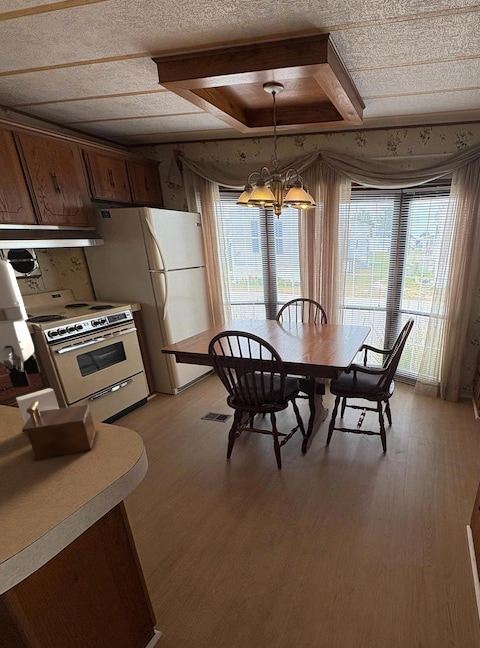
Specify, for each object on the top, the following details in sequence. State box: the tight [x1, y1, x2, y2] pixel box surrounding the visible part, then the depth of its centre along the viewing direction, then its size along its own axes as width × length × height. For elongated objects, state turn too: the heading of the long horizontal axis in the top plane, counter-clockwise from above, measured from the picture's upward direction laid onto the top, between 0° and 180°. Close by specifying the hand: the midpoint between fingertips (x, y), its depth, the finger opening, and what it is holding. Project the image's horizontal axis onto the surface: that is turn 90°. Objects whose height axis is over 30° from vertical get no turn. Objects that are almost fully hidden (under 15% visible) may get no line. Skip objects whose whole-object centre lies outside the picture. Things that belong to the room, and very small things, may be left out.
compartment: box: [26, 407, 97, 461], centre depth 98 cm, size 13×11×9 cm
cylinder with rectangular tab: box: [15, 387, 60, 425], centre depth 105 cm, size 9×9×12 cm
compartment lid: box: [21, 401, 90, 433], centre depth 95 cm, size 13×11×5 cm
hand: (27, 379), depth 89 cm, fingers open, 9 cm apart
